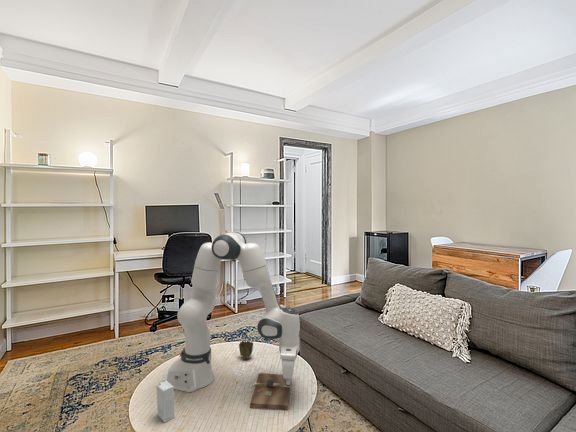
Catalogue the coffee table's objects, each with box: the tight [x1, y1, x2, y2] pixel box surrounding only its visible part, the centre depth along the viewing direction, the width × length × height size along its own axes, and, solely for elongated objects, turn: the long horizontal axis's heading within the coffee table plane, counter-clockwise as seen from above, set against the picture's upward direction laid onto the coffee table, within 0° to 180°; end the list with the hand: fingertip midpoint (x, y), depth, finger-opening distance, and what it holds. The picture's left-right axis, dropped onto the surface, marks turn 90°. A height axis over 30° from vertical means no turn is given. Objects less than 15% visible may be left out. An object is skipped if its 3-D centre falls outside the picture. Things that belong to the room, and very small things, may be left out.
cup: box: [238, 340, 254, 361], centre depth 163 cm, size 8×7×8 cm
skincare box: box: [156, 381, 176, 423], centre depth 118 cm, size 6×4×12 cm
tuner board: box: [249, 372, 291, 411], centre depth 134 cm, size 15×22×2 cm
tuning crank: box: [253, 380, 292, 388], centre depth 135 cm, size 16×3×6 cm, turn 86°
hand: (289, 377), depth 134 cm, fingers open, 8 cm apart
